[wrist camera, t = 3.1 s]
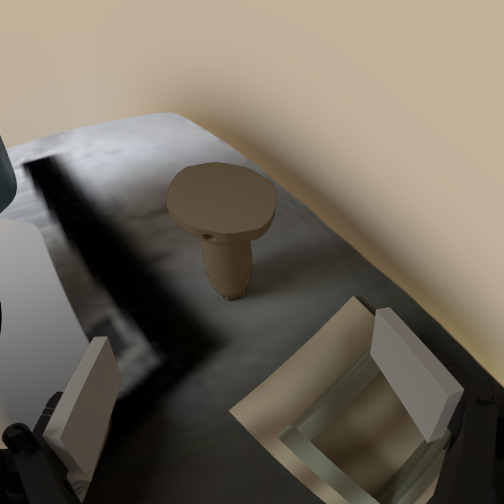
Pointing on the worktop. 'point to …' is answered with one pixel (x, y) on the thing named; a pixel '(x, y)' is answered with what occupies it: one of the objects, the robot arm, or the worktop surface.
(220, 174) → the handle
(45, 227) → the worktop surface
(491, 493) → the travel mug
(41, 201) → the worktop surface
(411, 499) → the socket board
